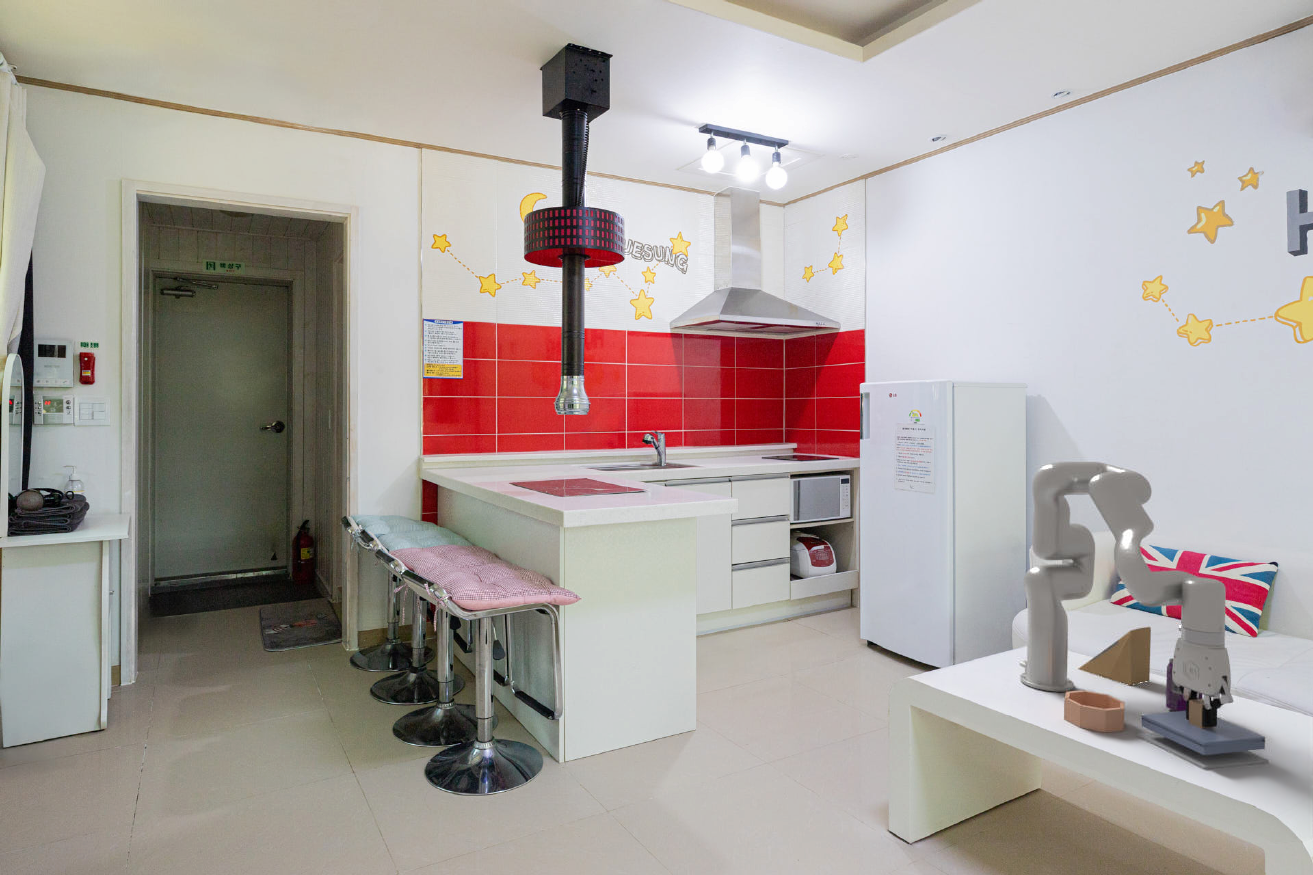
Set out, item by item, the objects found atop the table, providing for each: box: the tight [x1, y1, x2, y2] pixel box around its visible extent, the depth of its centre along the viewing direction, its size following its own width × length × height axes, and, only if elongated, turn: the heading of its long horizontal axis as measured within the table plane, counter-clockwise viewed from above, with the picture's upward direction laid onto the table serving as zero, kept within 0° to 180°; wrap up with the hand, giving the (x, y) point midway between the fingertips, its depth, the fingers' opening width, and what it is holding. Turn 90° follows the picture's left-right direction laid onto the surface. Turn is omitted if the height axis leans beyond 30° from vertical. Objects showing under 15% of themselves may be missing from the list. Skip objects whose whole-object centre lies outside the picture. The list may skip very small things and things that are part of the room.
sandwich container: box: [1077, 626, 1152, 686], centre depth 206 cm, size 9×15×15 cm, turn 25°
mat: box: [1136, 732, 1270, 770], centre depth 159 cm, size 16×16×1 cm
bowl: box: [1063, 689, 1126, 733], centre depth 174 cm, size 12×12×5 cm
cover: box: [1141, 698, 1266, 755], centre depth 159 cm, size 15×15×8 cm
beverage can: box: [1165, 658, 1203, 712], centre depth 180 cm, size 7×7×12 cm
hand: (1201, 722), depth 159 cm, fingers closed on cover, 3 cm apart
